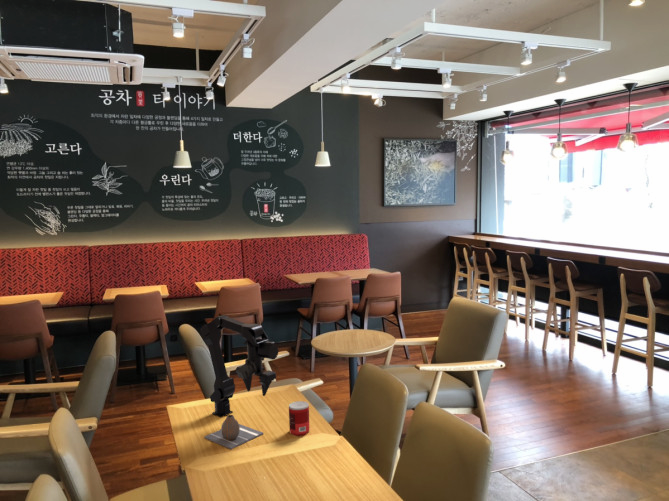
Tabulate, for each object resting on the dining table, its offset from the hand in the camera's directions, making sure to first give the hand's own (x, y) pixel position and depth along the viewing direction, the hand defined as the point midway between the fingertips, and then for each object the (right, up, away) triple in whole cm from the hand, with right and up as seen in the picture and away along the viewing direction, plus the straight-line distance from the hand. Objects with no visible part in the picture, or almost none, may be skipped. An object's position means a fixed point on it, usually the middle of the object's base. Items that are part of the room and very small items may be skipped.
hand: (256, 393), depth 215 cm
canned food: (+18, -13, -9) cm, 24 cm away
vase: (-8, -13, -14) cm, 21 cm away
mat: (-7, -14, -11) cm, 19 cm away
